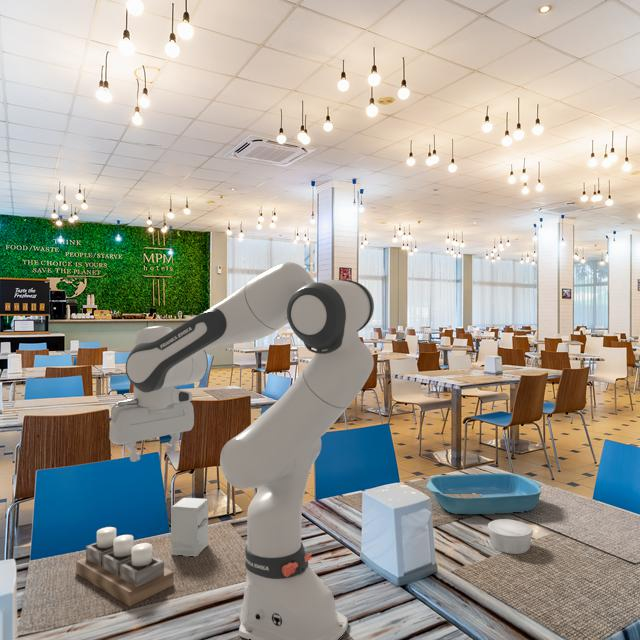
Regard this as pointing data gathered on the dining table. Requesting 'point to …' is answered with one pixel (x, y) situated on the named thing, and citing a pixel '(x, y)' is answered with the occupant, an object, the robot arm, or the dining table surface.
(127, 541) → the knob middle
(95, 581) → the knob mount
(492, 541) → the ramekin
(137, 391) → the robot arm
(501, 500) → the casserole dish
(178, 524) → the supplement box
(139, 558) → the knob near
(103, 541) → the knob far
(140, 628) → the dining table surface
